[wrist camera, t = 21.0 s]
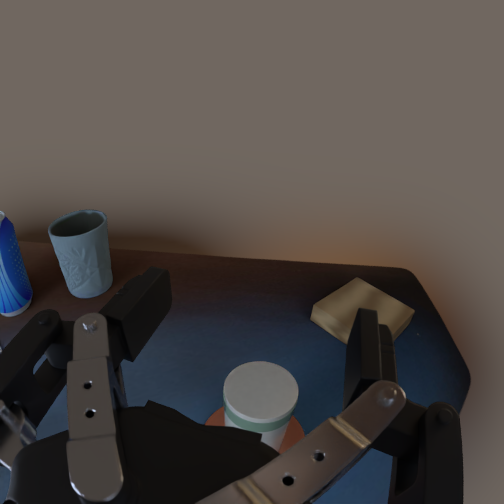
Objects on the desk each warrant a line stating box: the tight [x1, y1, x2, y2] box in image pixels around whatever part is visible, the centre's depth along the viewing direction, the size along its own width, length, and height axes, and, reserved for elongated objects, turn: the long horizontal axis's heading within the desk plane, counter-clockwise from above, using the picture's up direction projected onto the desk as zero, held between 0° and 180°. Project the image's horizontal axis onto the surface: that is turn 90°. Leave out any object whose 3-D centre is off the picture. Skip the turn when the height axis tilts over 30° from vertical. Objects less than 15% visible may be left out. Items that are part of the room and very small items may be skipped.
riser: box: [310, 277, 415, 345], centre depth 46 cm, size 12×12×3 cm
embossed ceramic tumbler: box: [48, 210, 113, 298], centre depth 47 cm, size 10×10×12 cm
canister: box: [223, 361, 298, 452], centre depth 26 cm, size 6×6×10 cm
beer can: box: [0, 211, 33, 317], centre depth 39 cm, size 8×8×16 cm
